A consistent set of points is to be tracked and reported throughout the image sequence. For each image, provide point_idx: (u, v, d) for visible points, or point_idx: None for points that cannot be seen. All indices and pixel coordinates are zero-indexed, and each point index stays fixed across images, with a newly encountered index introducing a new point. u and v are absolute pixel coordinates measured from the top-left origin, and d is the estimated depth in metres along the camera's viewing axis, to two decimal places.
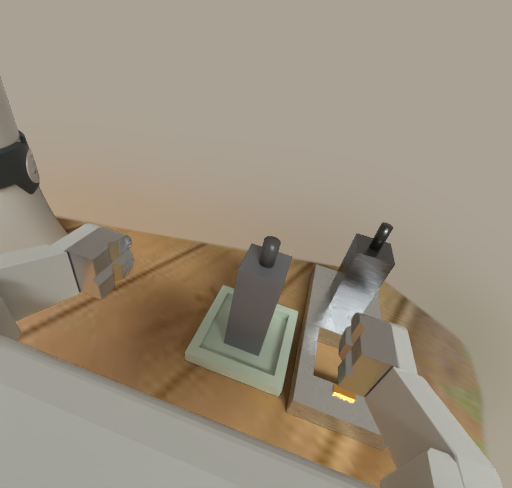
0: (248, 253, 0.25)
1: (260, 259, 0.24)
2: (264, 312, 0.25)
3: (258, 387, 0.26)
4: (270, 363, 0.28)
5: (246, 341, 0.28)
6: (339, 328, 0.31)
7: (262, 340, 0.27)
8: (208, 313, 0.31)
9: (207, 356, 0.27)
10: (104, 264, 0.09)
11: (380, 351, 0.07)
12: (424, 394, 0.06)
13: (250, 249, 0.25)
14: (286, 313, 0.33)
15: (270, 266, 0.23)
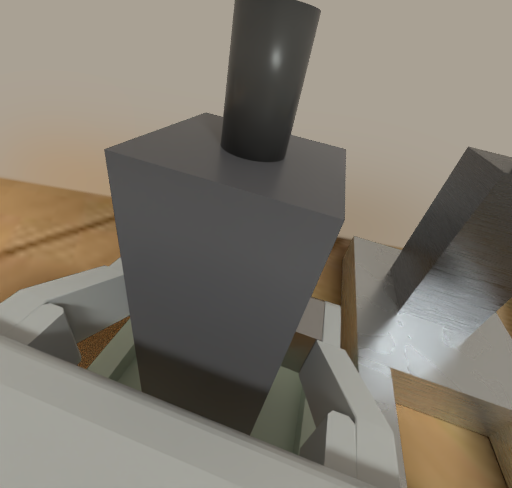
0: (184, 124, 0.06)
1: (225, 124, 0.05)
2: (248, 351, 0.06)
3: None
4: None
5: None
6: (438, 369, 0.13)
7: (247, 429, 0.09)
8: (117, 338, 0.12)
9: None
10: None
11: (307, 326, 0.07)
12: (340, 364, 0.07)
13: (196, 119, 0.07)
14: None
15: (269, 153, 0.05)
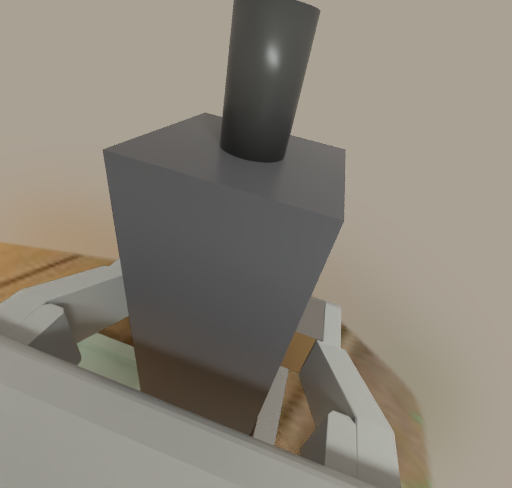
0: (183, 124, 0.06)
1: (224, 124, 0.05)
2: (247, 352, 0.06)
3: None
4: None
5: None
6: None
7: (246, 430, 0.09)
8: None
9: None
10: None
11: (308, 326, 0.07)
12: (340, 364, 0.07)
13: (195, 119, 0.07)
14: None
15: (269, 153, 0.05)
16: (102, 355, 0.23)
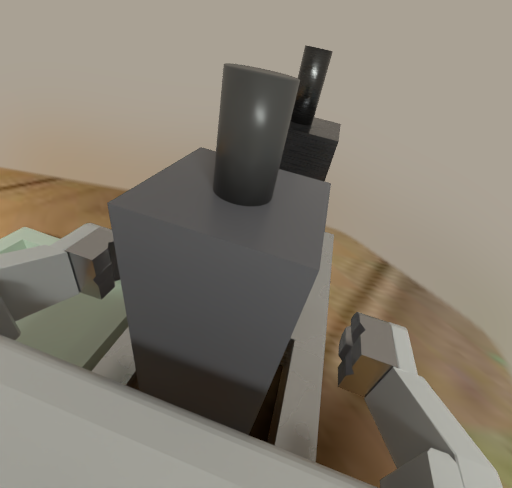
0: (179, 164, 0.07)
1: (216, 172, 0.06)
2: (239, 373, 0.07)
3: None
4: None
5: None
6: None
7: None
8: None
9: None
10: (104, 264, 0.09)
11: (380, 351, 0.07)
12: (424, 394, 0.06)
13: (191, 157, 0.07)
14: None
15: (257, 199, 0.06)
16: None
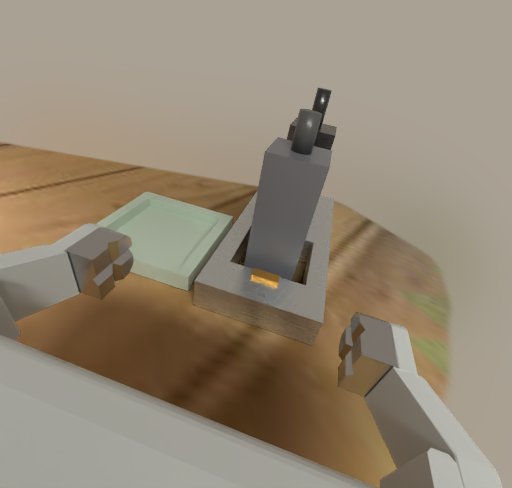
0: (275, 142, 0.18)
1: (293, 143, 0.17)
2: (298, 221, 0.19)
3: (162, 280, 0.21)
4: (185, 259, 0.23)
5: None
6: None
7: (293, 268, 0.21)
8: (117, 211, 0.26)
9: None
10: (104, 264, 0.09)
11: (380, 351, 0.07)
12: (423, 394, 0.06)
13: (277, 140, 0.19)
14: (217, 217, 0.28)
15: (307, 152, 0.17)
16: (182, 215, 0.28)
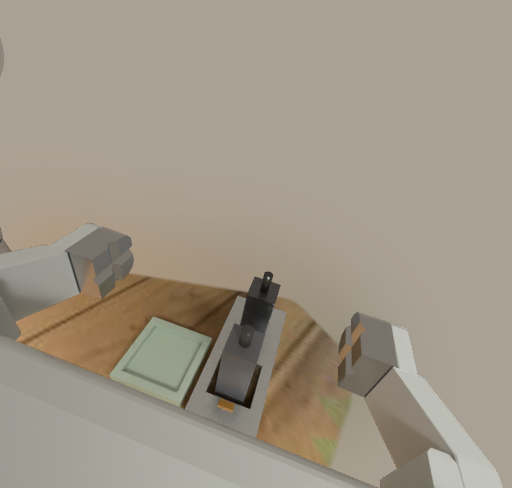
0: (231, 334, 0.32)
1: (240, 341, 0.31)
2: (244, 378, 0.32)
3: None
4: (179, 382, 0.37)
5: (231, 396, 0.35)
6: None
7: (244, 396, 0.35)
8: (135, 342, 0.39)
9: (126, 377, 0.35)
10: (104, 264, 0.09)
11: (380, 351, 0.07)
12: (423, 394, 0.06)
13: (233, 329, 0.33)
14: (201, 340, 0.41)
15: (247, 346, 0.31)
16: (177, 336, 0.42)
